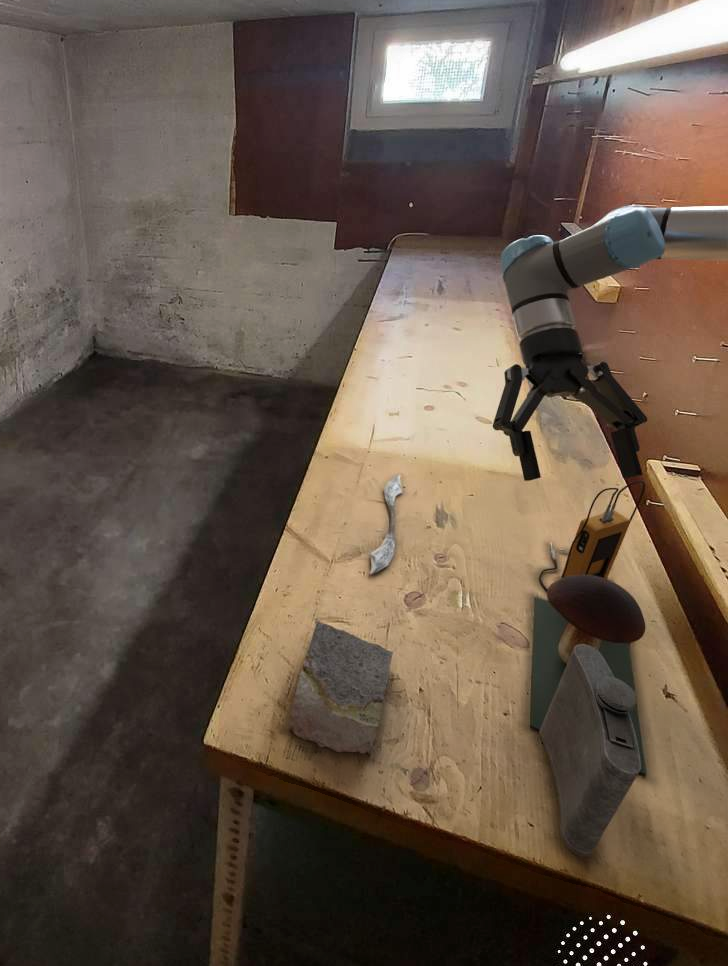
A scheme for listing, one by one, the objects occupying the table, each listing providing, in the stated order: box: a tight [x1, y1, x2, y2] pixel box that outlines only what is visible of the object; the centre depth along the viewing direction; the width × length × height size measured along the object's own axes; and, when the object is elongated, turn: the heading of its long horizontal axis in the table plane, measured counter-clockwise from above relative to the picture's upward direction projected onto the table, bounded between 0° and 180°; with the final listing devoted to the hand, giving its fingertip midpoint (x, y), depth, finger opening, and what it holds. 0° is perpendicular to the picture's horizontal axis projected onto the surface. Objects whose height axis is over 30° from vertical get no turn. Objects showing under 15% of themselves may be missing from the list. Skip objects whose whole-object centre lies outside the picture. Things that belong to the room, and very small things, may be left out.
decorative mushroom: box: [546, 574, 646, 664], centre depth 76 cm, size 11×11×15 cm
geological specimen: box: [288, 620, 393, 756], centre depth 75 cm, size 11×6×15 cm
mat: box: [529, 596, 647, 776], centre depth 78 cm, size 12×24×1 cm, turn 150°
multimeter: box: [538, 480, 646, 592], centre depth 92 cm, size 15×10×20 cm
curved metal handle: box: [369, 473, 404, 575], centre depth 108 cm, size 32×1×5 cm
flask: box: [539, 644, 641, 858], centre depth 61 cm, size 4×14×18 cm, turn 161°
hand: (582, 478), depth 77 cm, fingers open, 13 cm apart
